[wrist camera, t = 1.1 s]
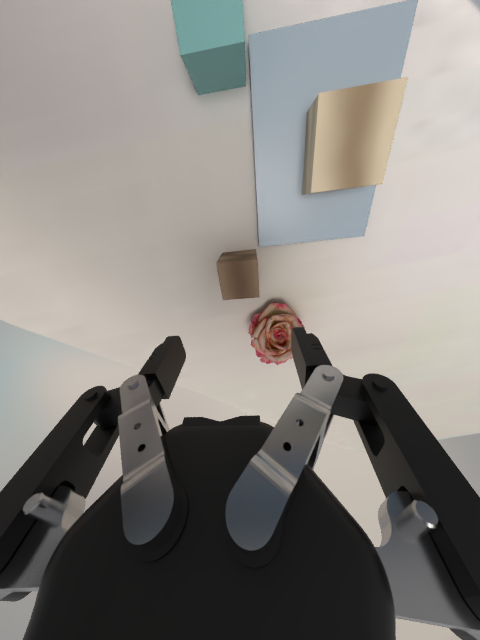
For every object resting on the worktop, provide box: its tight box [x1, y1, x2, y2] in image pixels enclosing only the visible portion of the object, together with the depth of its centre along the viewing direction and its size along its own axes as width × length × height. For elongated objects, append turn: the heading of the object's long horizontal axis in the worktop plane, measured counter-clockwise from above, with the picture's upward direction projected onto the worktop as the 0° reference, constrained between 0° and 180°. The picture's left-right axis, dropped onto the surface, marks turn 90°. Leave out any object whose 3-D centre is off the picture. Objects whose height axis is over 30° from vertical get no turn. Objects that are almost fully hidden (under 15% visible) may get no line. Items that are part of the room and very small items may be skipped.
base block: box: [302, 77, 408, 195], centre depth 19 cm, size 7×7×4 cm
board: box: [249, 0, 418, 247], centre depth 21 cm, size 14×18×1 cm
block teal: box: [171, 0, 246, 95], centre depth 15 cm, size 5×5×6 cm
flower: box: [248, 303, 305, 365], centre depth 31 cm, size 10×9×8 cm
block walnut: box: [217, 249, 259, 300], centre depth 26 cm, size 5×5×6 cm
